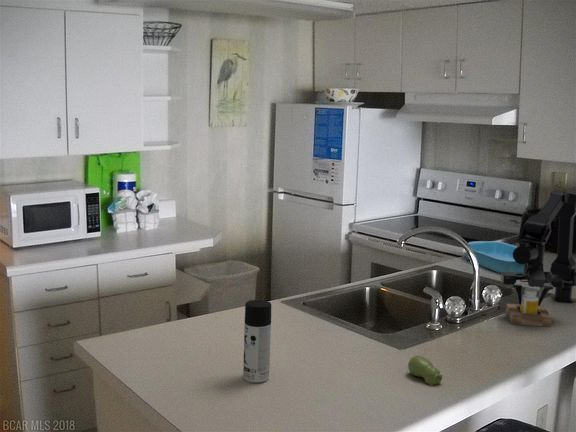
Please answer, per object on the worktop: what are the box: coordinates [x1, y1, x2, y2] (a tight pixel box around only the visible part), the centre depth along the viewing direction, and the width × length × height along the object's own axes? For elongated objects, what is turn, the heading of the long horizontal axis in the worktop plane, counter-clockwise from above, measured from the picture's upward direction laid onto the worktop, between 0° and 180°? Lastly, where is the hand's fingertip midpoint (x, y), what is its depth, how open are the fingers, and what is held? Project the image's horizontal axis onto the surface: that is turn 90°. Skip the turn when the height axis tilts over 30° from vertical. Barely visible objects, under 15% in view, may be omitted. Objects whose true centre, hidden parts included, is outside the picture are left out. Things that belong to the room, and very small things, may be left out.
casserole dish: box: [464, 240, 524, 275], centre depth 292 cm, size 37×22×7 cm, turn 21°
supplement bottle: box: [520, 287, 539, 314], centre depth 226 cm, size 5×5×10 cm
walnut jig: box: [505, 302, 553, 328], centre depth 227 cm, size 12×12×3 cm
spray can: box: [242, 299, 272, 384], centre depth 175 cm, size 7×7×20 cm
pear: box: [407, 355, 443, 386], centre depth 179 cm, size 6×5×10 cm
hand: (529, 304), depth 226 cm, fingers open, 6 cm apart
